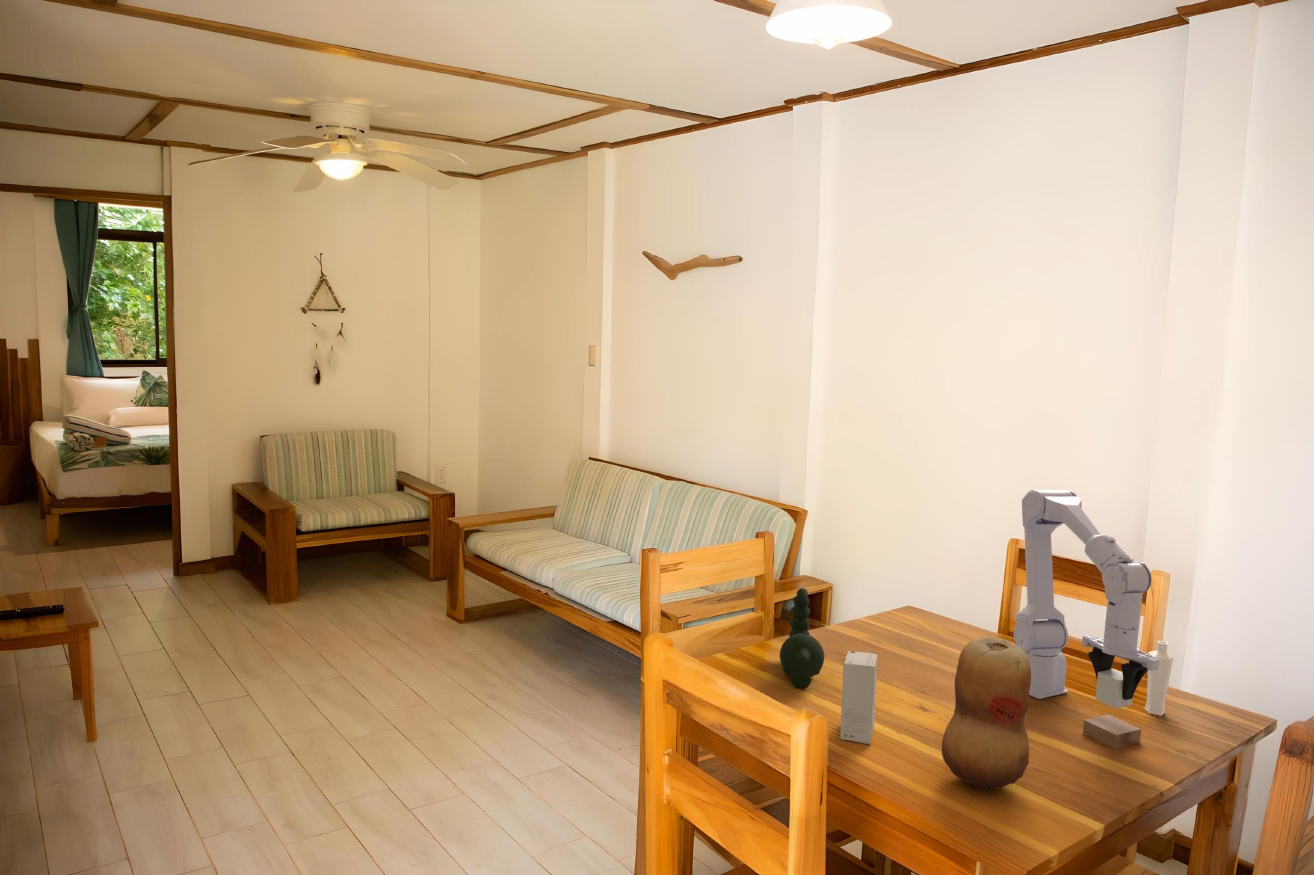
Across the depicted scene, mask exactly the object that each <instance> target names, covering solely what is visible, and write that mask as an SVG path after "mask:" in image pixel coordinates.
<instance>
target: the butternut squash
mask: <svg viewBox="0 0 1314 875" xmlns="http://www.w3.org/2000/svg"><path fill="white" fill-rule="evenodd" d="M1030 684H1031V668H1030V661H1029V658H1028V656H1027V655H1026V654H1025V652H1024V651H1023V650H1022V649H1021V648H1020V647H1018V645H1017V644H1016V643H1014V642H1012V641H1010V640H1007V639H1004V638H997V637H990V636H987V637H986V636H985V637H979V638H977V639H974V640H971V641H969V642H968V643H967V644H966V645H965V646H964V647H963V648H962V650H961V652H960V654H959V657H958V663H957V667H956V672H955V675H954V684H953V686H954V701H955V702H954V704H955V705H954V712H953V714H952V717H951V718H950V720H949V722H948V724H947V726H946V728H945V730H944V733H943V736H942V741H941V743H942V744H941V755H942V760H943V761H944V763H945V764H946V765H947V767H948V768H949V769H950V771H951V773H952V774H953V775H954V776H956V777H957V778H958V779H960V780H963V781H965V782H967V783H970V784H972V785H974V786H975V787H976V788H978V789H981V790H982V789H983V790H994V789H998V788H1003V787H1007V786H1009V785H1012V784H1015V783H1016V782H1017V781H1018V780H1020V779H1022V778H1023V776H1024V773H1025V771H1026V770H1027V766H1029V764H1030V744H1029V737H1028V732H1027V729H1026V726H1025V715H1026V714H1027V712H1028V711H1029V707H1030V695H1029V691H1030Z"/></svg>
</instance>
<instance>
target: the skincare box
mask: <svg viewBox="0 0 1314 875" xmlns="http://www.w3.org/2000/svg"><path fill="white" fill-rule="evenodd" d="M844 660H845V661H844V662H843V664H842V666H843V668H842V686H841V687H842V689H841V706H840V707H841V711H840V734H839V736H840V737H839V740H843V741H851V742H855V743H860V744H863V745H864V744H865V745H871V744H872V736H873V732H874V729H875V719H876V718H875V716H876V694H877V666H878V665H877V664H878V654H877V653H870V652H861V651H853V650H852V651H851V650H848V651H847V653H846V655H845V659H844Z"/></svg>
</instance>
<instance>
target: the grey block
mask: <svg viewBox="0 0 1314 875" xmlns="http://www.w3.org/2000/svg"><path fill="white" fill-rule="evenodd" d="M1122 690H1123V674H1122V671H1119V670H1118V669H1115V668H1111V670H1106V671H1101V672H1098V678H1097V679H1096V691H1095V701H1097V702H1100V703H1102V704H1105V705H1107V706H1109V707H1112V708H1114V709H1117V710H1118V709H1122V708H1126V707H1129V706H1132V705H1133V698H1134V697H1133V698H1132V699H1129V700H1124V699H1123V698H1122Z"/></svg>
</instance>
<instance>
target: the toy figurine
mask: <svg viewBox="0 0 1314 875" xmlns="http://www.w3.org/2000/svg"><path fill="white" fill-rule="evenodd" d="M808 597H809V592H808V589H806V588H804V587H801V588H798V589H797V591H796V595H795V596H794V597H793V598H792V601H793V605H794V606H792V607H791V608H790V612H791V613H792V618H791V620H790V621H789V622H788V624H789V625H790V627H791V629H790V631H789V635H788V636H789V637H787V639H785V640H784V642H783V643H782V645H781V646H780V650H779V660H780V661H779V662H780V664H781V667H782V671H783V673H784V674H785V675H789V676H790V683H791V685H792V686H793V687H795V688H798V689H799V688H800V689H805V688H808V687H809V686H810V685H811V682H812V680H811V679H812V677H814V676H818V675H819V674H820V672H821V670H822V668H823V665H824V663H825V652H824V648H823V647H822V644H821V643H820V641H818V640H817V639H816V638H815V637H813V636H812V635H811V634H810V631H809V629H810V626H811V623H810V620H809V616H810V613H811V609H810V608H809V603H810V599H809V598H808Z"/></svg>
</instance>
